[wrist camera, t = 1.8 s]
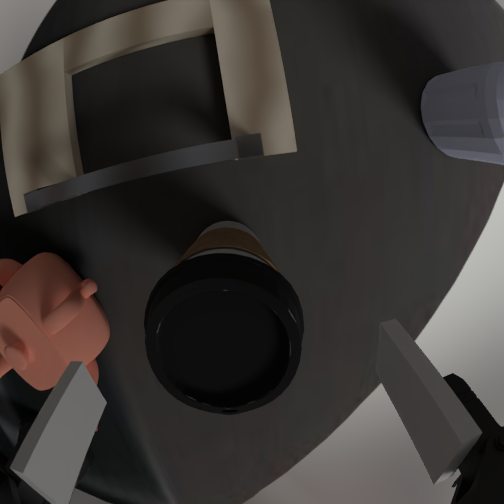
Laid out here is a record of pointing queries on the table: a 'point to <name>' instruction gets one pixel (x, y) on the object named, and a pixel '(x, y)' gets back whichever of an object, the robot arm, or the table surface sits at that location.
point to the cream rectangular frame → (121, 43)
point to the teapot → (48, 320)
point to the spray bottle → (467, 112)
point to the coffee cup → (224, 324)
